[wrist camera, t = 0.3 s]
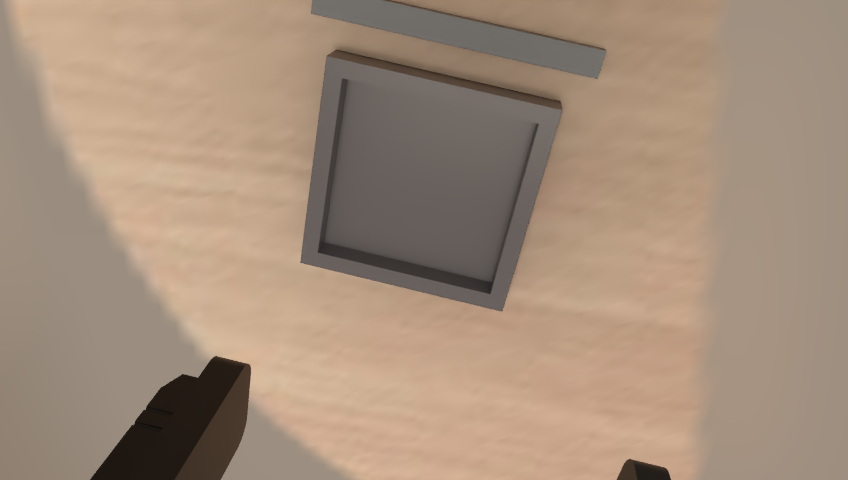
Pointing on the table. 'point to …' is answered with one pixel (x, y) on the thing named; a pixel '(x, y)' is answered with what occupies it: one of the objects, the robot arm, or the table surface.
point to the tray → (424, 178)
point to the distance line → (466, 34)
